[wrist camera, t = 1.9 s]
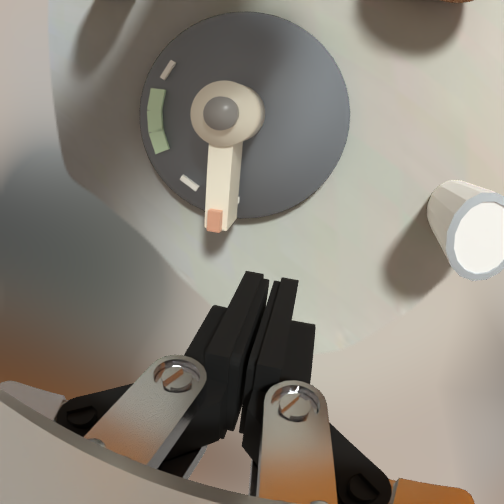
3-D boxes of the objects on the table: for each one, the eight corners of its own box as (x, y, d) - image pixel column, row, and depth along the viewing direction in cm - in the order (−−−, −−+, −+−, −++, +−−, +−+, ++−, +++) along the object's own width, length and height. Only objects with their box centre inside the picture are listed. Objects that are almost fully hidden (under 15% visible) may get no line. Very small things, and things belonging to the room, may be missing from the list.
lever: (209, 83, 23) (189, 79, 20) (268, 86, 23) (257, 81, 19) (201, 212, 28) (182, 227, 24) (254, 220, 27) (243, 237, 24)
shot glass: (413, 240, 27) (435, 277, 20) (427, 166, 24) (457, 183, 17) (474, 249, 25) (505, 285, 19) (490, 180, 22) (530, 202, 16)
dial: (154, 20, 23) (146, 17, 22) (358, 26, 20) (360, 21, 19) (144, 200, 31) (137, 205, 29) (331, 229, 28) (331, 235, 27)
